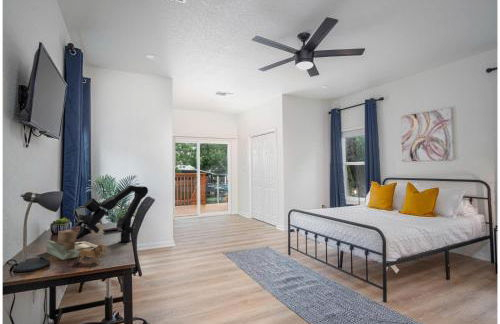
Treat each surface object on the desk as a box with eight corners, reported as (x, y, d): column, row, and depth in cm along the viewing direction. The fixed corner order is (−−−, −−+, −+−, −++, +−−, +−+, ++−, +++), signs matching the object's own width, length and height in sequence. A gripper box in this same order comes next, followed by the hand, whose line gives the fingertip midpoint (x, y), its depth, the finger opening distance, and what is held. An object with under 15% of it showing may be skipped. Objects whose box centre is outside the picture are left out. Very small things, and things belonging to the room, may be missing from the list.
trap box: (84, 245, 183) (84, 234, 183) (101, 251, 169) (102, 240, 170) (46, 252, 167) (46, 240, 167) (62, 259, 153) (63, 247, 153)
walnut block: (69, 246, 169) (69, 229, 169) (74, 249, 165) (75, 231, 165) (57, 249, 164) (58, 231, 165) (62, 251, 160) (63, 232, 160)
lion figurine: (106, 259, 154) (107, 242, 154) (104, 263, 149) (105, 245, 149) (75, 261, 150) (75, 244, 150) (72, 265, 145) (72, 246, 145)
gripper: (79, 207, 179) (59, 228, 170) (94, 210, 168) (72, 232, 159) (92, 218, 185) (73, 239, 176) (107, 222, 174) (87, 244, 165)
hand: (76, 238), depth 169 cm, fingers closed
